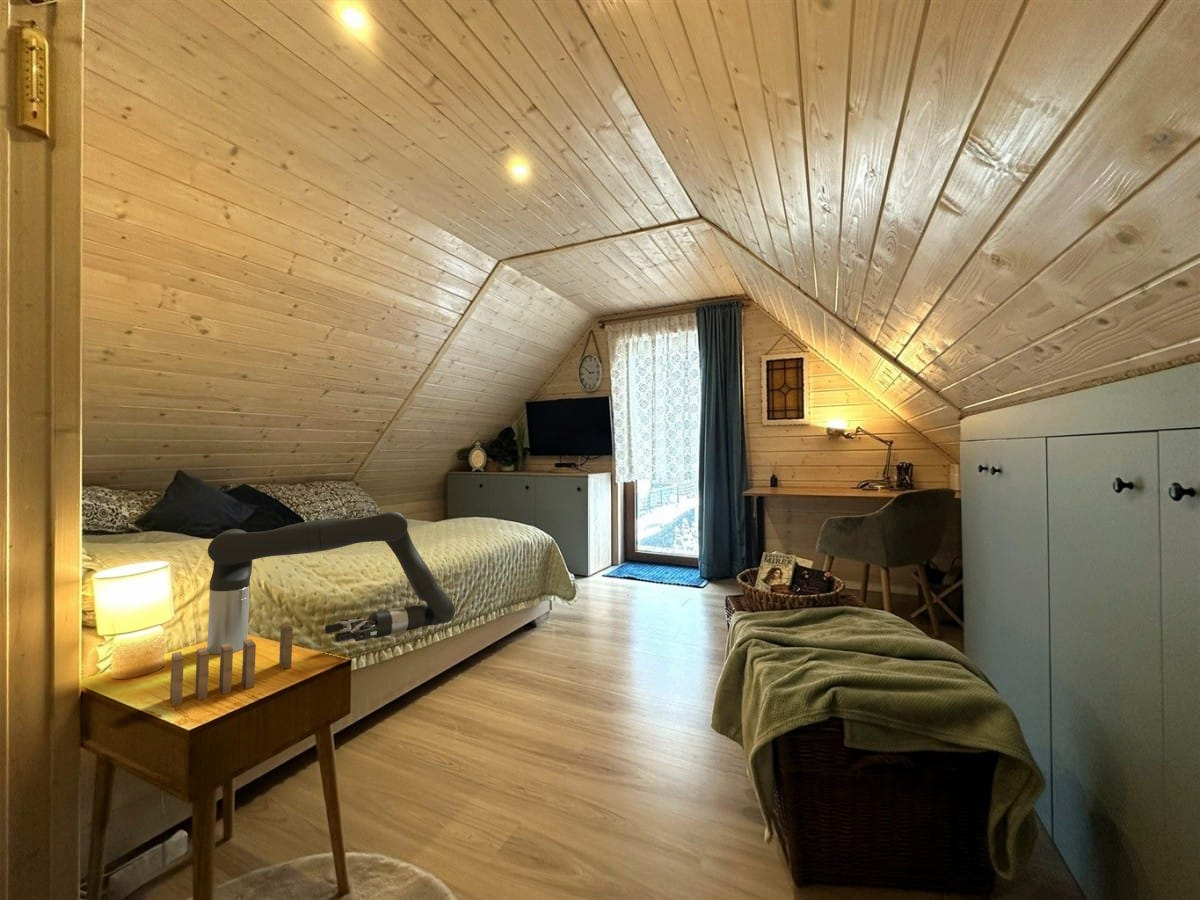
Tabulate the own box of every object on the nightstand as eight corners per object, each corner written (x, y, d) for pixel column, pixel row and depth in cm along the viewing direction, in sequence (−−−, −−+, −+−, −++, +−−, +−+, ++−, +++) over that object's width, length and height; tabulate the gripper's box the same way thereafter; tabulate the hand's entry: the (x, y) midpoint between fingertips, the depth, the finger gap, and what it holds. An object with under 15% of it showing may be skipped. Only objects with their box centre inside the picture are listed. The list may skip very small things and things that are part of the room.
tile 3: (219, 687, 124) (220, 644, 124) (227, 685, 125) (228, 642, 126) (222, 694, 121) (224, 650, 121) (231, 692, 122) (233, 649, 122)
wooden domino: (195, 692, 121) (197, 648, 121) (203, 690, 122) (205, 647, 122) (198, 700, 118) (200, 655, 118) (207, 698, 119) (209, 653, 119)
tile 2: (241, 681, 127) (243, 640, 128) (249, 680, 129) (251, 638, 129) (246, 688, 124) (247, 646, 124) (254, 686, 125) (255, 644, 125)
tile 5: (170, 698, 118) (171, 653, 118) (179, 696, 119) (180, 651, 119) (172, 706, 115) (174, 660, 115) (181, 704, 116) (183, 658, 116)
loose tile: (279, 663, 139) (280, 625, 139) (286, 661, 140) (287, 624, 140) (284, 669, 136) (285, 630, 136) (291, 667, 137) (292, 628, 137)
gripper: (379, 604, 162) (322, 613, 151) (399, 615, 152) (339, 626, 140) (378, 628, 162) (321, 640, 150) (398, 641, 151) (337, 654, 140)
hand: (329, 633), depth 145 cm, fingers open, 8 cm apart
